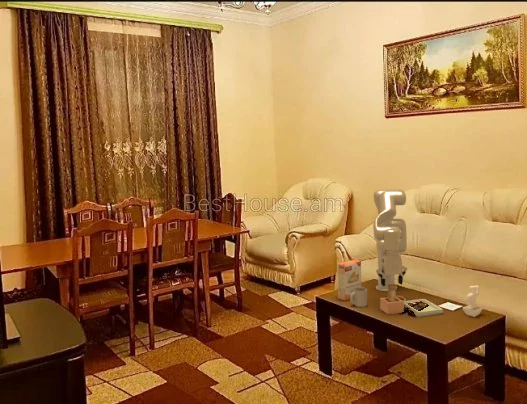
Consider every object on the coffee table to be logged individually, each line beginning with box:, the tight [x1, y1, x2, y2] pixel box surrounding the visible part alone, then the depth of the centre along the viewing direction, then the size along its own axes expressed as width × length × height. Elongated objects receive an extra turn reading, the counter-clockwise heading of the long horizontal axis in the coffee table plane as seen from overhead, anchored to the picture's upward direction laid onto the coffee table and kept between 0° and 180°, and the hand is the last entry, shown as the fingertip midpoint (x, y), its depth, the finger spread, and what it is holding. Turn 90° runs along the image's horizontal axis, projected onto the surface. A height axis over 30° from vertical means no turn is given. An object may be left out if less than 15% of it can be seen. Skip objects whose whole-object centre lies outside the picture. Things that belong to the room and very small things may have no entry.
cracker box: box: [337, 259, 362, 302], centre depth 294 cm, size 14×6×21 cm, turn 129°
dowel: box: [387, 284, 397, 302], centre depth 270 cm, size 4×4×14 cm
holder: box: [379, 296, 405, 315], centre depth 270 cm, size 9×9×6 cm
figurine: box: [462, 285, 483, 318], centre depth 259 cm, size 7×9×15 cm
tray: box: [403, 298, 444, 318], centre depth 270 cm, size 18×14×2 cm
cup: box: [349, 286, 368, 308], centre depth 281 cm, size 7×10×9 cm
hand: (391, 284), depth 268 cm, fingers open, 9 cm apart
